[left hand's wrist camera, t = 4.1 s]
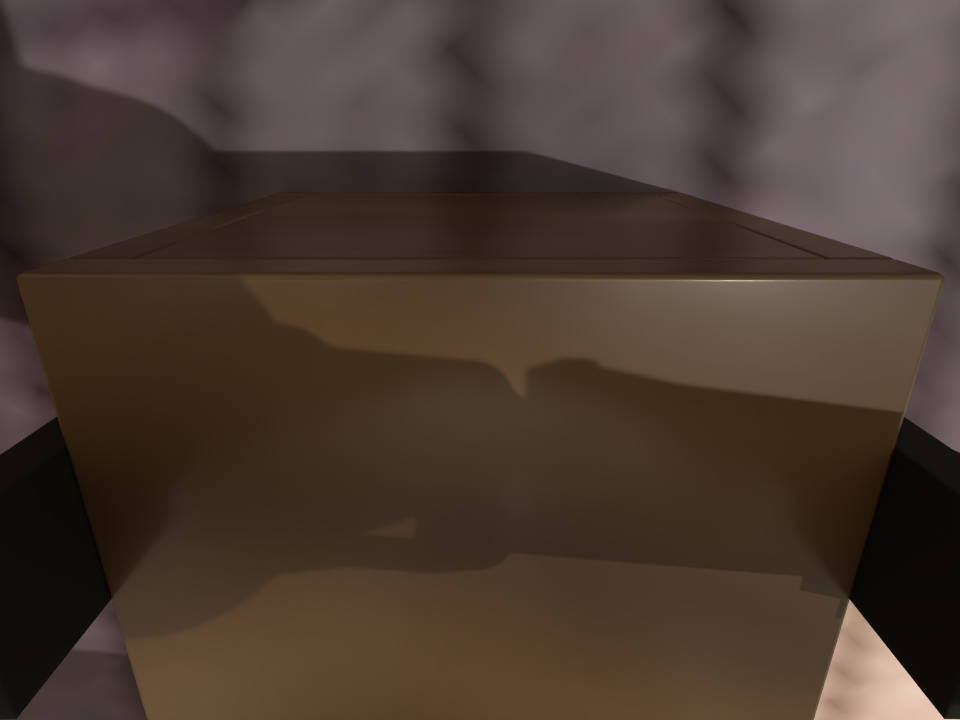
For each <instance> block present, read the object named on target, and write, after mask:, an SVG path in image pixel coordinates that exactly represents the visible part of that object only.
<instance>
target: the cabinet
mask: <svg viewBox="0 0 960 720" xmlns="http://www.w3.org/2000/svg"><path fill="white" fill-rule="evenodd" d="M17 283H18V286H19V289H20V293H21V296H22V299H23V303H24V306H25V310H26V313H27V316H28V320H29V323H30V326H31V330H32V333H33V337H34V340H35V343H36V347H37V350H38V353H39V357H40V360H41V364H42V367H43V370H44V374H45V377H46V380H47V384H48V387H49V390H50V394H51V397H52V401H53V404H54V407H55V411H56V414H57V417H58V421H59V424H60V428H61V431H62V434H63V438H64V441H65V444H66V448H67V451H68V454H69V458H70V461H71V465H72V468H73V471H74V475H75V478H76V481H77V485H78V488H79V492H80V495H81V498H82V502H83V505H84V508H85V512H86V515H87V519H88V522H89V525H90V529H91V532H92V535H93V539H94V542H95V545H96V549H97V552H98V556H99V559H100V562H101V566H102V569H103V572H104V576H105V579H106V583H107V586H108V589H109V593H110V596H111V599H112V603H113V606H114V609H115V613H116V616H117V620H118V623H119V626H120V630H121V633H122V636H123V640H124V643H125V647H126V650H127V653H128V657H129V660H130V663H131V667H132V670H133V674H134V677H135V680H136V684H137V687H138V690H139V694H140V697H141V700H142V704H143V707H144V711H145V714H146V717H147V720H814V717H815V713H816V710H817V707H818V703H819V700H820V697H821V693H822V690H823V686H824V683H825V680H826V676H827V673H828V670H829V666H830V663H831V660H832V656H833V653H834V650H835V646H836V643H837V639H838V636H839V633H840V629H841V626H842V623H843V619H844V616H845V613H846V609H847V606H848V603H849V599H850V596H851V593H852V589H853V586H854V582H855V579H856V576H857V572H858V569H859V566H860V562H861V559H862V556H863V552H864V549H865V546H866V542H867V539H868V536H869V532H870V529H871V525H872V522H873V519H874V515H875V512H876V509H877V505H878V502H879V499H880V495H881V492H882V489H883V485H884V482H885V478H886V475H887V472H888V468H889V465H890V462H891V458H892V455H893V452H894V448H895V445H896V442H897V438H898V435H899V432H900V428H901V425H902V421H903V418H904V415H905V411H906V408H907V405H908V401H909V398H910V395H911V391H912V388H913V385H914V381H915V378H916V375H917V371H918V368H919V364H920V361H921V358H922V354H923V351H924V348H925V344H926V341H927V338H928V334H929V331H930V328H931V324H932V321H933V318H934V314H935V311H936V307H937V304H938V301H939V297H940V294H941V291H942V287H943V284H944V276H943V275H942V274H940V273H937V272H934V271H931V270H928V269H925V268H921V267H918V266H915V265H912V264H908V263H905V262H902V261H899V260H894V259H892V258H890V257H887V256H884V255H881V254H877V253H874V252H871V251H868V250H865V249H861V248H858V247H855V246H852V245H848V244H845V243H842V242H839V241H835V240H832V239H829V238H826V237H822V236H819V235H816V234H813V233H809V232H806V231H803V230H800V229H796V228H793V227H790V226H787V225H783V224H780V223H777V222H774V221H770V220H767V219H764V218H761V217H757V216H754V215H751V214H748V213H744V212H741V211H738V210H735V209H732V208H728V207H725V206H722V205H719V204H715V203H712V202H709V201H706V200H702V199H699V198H696V197H693V196H690V195H687V194H684V193H277V194H274V195H271V196H268V197H266V198H262V199H259V200H256V201H253V202H250V203H246V204H243V205H240V206H237V207H233V208H230V209H227V210H224V211H220V212H217V213H214V214H211V215H207V216H204V217H201V218H198V219H194V220H191V221H188V222H185V223H182V224H178V225H175V226H172V227H169V228H165V229H162V230H159V231H156V232H152V233H149V234H146V235H143V236H139V237H136V238H133V239H130V240H127V241H123V242H120V243H117V244H114V245H110V246H107V247H104V248H101V249H97V250H94V251H91V252H88V253H84V254H81V255H78V256H75V257H73V258H70V259H65V260H61V261H58V262H55V263H52V264H48V265H45V266H42V267H39V268H35V269H32V270H29V271H26V272H23V273H21V274H19V275H18V276H17Z"/></svg>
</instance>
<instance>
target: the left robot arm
mask: <svg viewBox="0 0 960 720" xmlns="http://www.w3.org/2000/svg"><path fill="white" fill-rule="evenodd" d="M110 600H111V596H110V593H109V589H108V586H107V583H106V579H105V576H104V572H103V569H102V566H101V562H100V559H99V556H98V552H97V549H96V545H95V542H94V539H93V535H92V532H91V529H90V525H89V522H88V519H87V515H86V512H85V508H84V505H83V502H82V498H81V495H80V492H79V488H78V485H77V481H76V478H75V475H74V471H73V468H72V465H71V461H70V458H69V454H68V451H67V448H66V444H65V441H64V438H63V434H62V431H61V428H60V424H59V421H58V417H56V418H54V419H53V420H51V421H50V422H48V423H47V424H45V425H44V426H43V427H41V428H40V429H38V430H37V431H35V432H34V433H32V434H31V435H29V436H28V437H26V438H25V439H23V440H22V441H20V442H19V443H17V444H16V445H14V446H13V447H11V448H10V449H8V450H7V451H5V452H4V453H2V454H1V455H0V719H17V717H18V716H19V715H20V714H21V712H22V711H23V710H24V709H25V707H26V706H27V705H28V703H29V702H30V701H31V700H32V698H33V697H34V696H35V695H36V693H37V692H38V691H39V690H40V688H41V687H42V686H43V684H44V683H45V682H46V681H47V679H48V678H49V677H50V676H51V674H52V673H53V672H54V671H55V669H56V668H57V667H58V666H59V664H60V663H61V662H62V660H63V659H64V658H65V657H66V655H67V654H68V653H69V652H70V650H71V649H72V648H73V647H74V645H75V644H76V643H77V641H78V640H79V639H80V638H81V636H82V635H83V634H84V633H85V631H86V630H87V629H88V628H89V626H90V625H91V624H92V623H93V621H94V620H95V619H96V617H97V616H98V615H99V614H100V612H101V611H102V610H103V609H104V607H105V606H106V605H107V604H108V602H109V601H110ZM850 600H851V601H852V603H853V604H854V605H855V607H856V608H857V609H858V610H859V612H860V613H861V614H862V615H863V617H864V618H865V619H866V620H867V622H868V623H869V624H870V626H871V627H872V628H873V629H874V631H875V632H876V633H877V634H878V636H879V637H880V638H881V639H882V641H883V642H884V643H885V644H886V646H887V647H888V648H889V650H890V651H891V652H892V653H893V655H894V656H895V657H896V658H897V660H898V661H899V662H900V663H901V665H902V666H903V667H904V668H905V670H906V671H907V672H908V674H909V675H910V676H911V677H912V679H913V680H914V681H915V682H916V684H917V685H918V686H919V687H920V689H921V690H922V691H923V693H924V694H925V695H926V696H927V698H928V699H929V700H930V701H931V703H932V704H933V705H934V706H935V708H936V709H937V710H938V711H939V713H940V714H941V715H942V717H943V718H944V719H960V453H959V452H957V451H955V450H952V449H951V448H949V447H948V446H946V445H945V444H944V443H942V442H941V441H939V440H938V439H936V438H935V437H933V436H932V435H930V434H929V433H927V432H926V431H924V430H923V429H921V428H920V427H918V426H917V425H915V424H914V423H912V422H911V421H909V420H908V419H906V418H905V417H904V418H903V421H902V425H901V428H900V432H899V435H898V438H897V442H896V445H895V448H894V452H893V455H892V458H891V462H890V465H889V468H888V472H887V475H886V478H885V482H884V485H883V489H882V492H881V495H880V499H879V502H878V505H877V509H876V512H875V515H874V519H873V522H872V525H871V529H870V532H869V536H868V539H867V542H866V546H865V549H864V552H863V556H862V559H861V562H860V566H859V569H858V572H857V576H856V579H855V582H854V586H853V589H852V593H851V596H850Z"/></svg>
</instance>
